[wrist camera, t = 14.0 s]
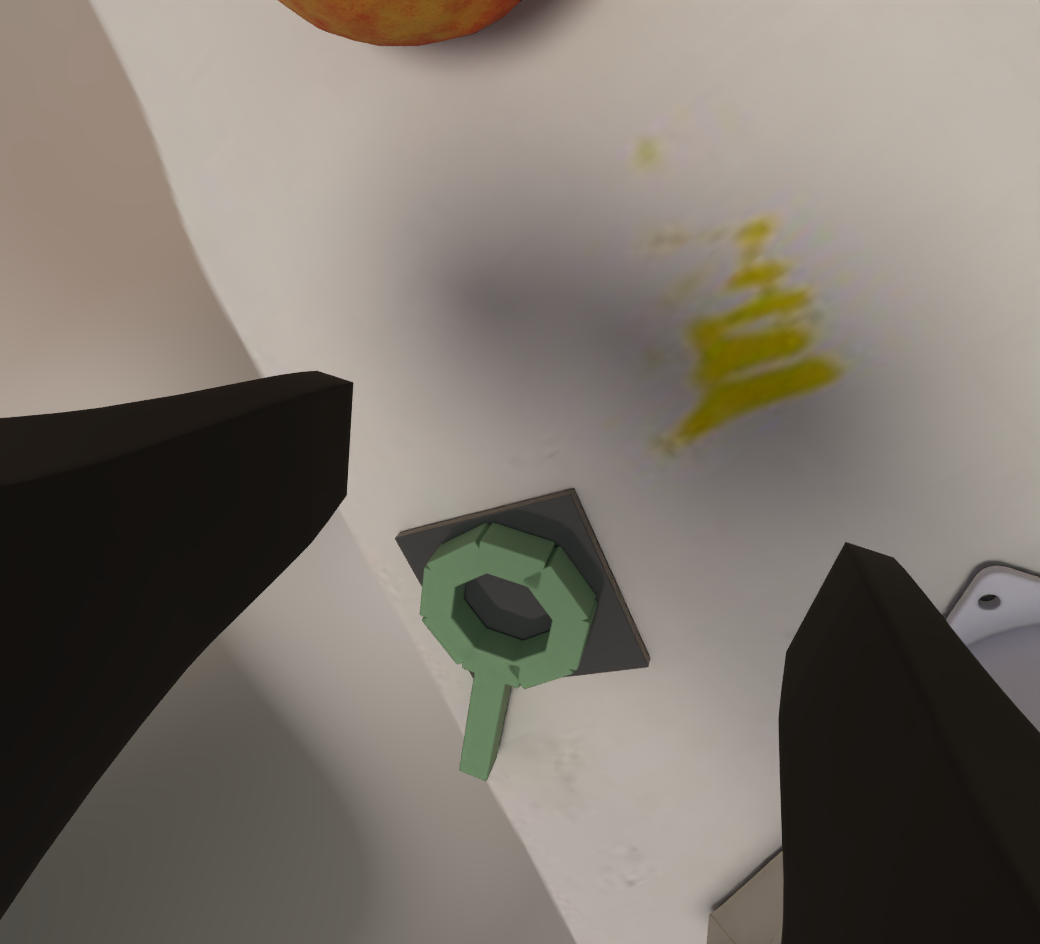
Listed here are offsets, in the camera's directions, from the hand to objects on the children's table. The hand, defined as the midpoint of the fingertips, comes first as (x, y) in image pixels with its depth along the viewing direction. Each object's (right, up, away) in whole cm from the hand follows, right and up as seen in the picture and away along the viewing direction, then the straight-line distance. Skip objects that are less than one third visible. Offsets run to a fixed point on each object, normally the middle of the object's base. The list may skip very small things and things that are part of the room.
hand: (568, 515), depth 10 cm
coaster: (-1, -4, +15) cm, 15 cm away
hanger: (-1, -6, +16) cm, 17 cm away
